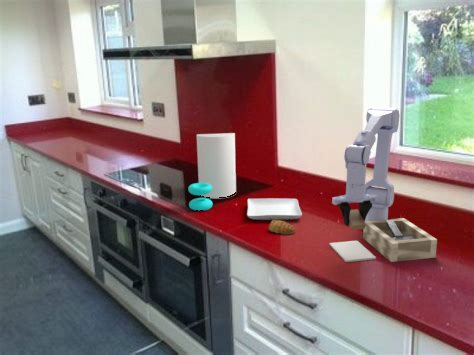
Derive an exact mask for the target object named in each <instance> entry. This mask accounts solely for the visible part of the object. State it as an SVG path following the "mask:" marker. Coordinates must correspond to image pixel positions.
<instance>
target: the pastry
mask: <svg viewBox="0 0 474 355" xmlns="http://www.w3.org/2000/svg"><path fill="white" fill-rule="evenodd" d="M268 230H269V231H270V232H272V233H275V234H278V233H281V234H280V235H292V234H294V233H295V232H296V228H295V227H294V226H293V225H292V224H290V223H289V222H286V220H271V222H270V223H269V227H268Z"/></svg>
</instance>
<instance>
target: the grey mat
mask: <svg viewBox="0 0 474 355" xmlns="http://www.w3.org/2000/svg"><path fill="white" fill-rule="evenodd" d="M328 245H329V246H330V248H332V250H333V251H335V253H336V254H337V253H338V255H339V257H340V258H341V259H342V260H343V261H344V262H345V263H350V262H359V261H360V262H361V261H369V260H377V256H375V255H374V254H373V253H372V252H371V251H370V250H369V249H367V248H366V247H365V246H364V245H363V244H362V243H361V242H359V241H358V240H349V241H337V242H329V244H328Z"/></svg>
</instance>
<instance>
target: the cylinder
mask: <svg viewBox="0 0 474 355" xmlns="http://www.w3.org/2000/svg"><path fill="white" fill-rule="evenodd" d="M196 152H197V153H196V154H197V173H198V174H197V176H198V183H207V184H210V185H211V186H212V191H211V192H210V193H208V194H206V195H201V197H202V196H204V197H203V198H206V197H210V198H209V199H220V198H219V197H226V198H228V197H227V196H230V195H232V194H234V193H235V192H236V193H237V174H236V133H235V132H229V133H228V132H227V133H226V132H225V133H224V132H223V133H200V134H199V133H198V134H196Z"/></svg>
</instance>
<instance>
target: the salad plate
mask: <svg viewBox="0 0 474 355" xmlns="http://www.w3.org/2000/svg"><path fill="white" fill-rule="evenodd" d="M246 202H247V211H246V216H247V217H248V218H249V219H251V220H257V221H272V220H277V221H279V220H281V221H286V220H287V221H288V220H289V219H290V220H297V219H299V218H301V217H302V215H303V213H302V209H301V208H300V206H299V200H298V199H297V198H273V197H272V198H271V197H270V198H269V197H268V198H248V199H247V201H246Z"/></svg>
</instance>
